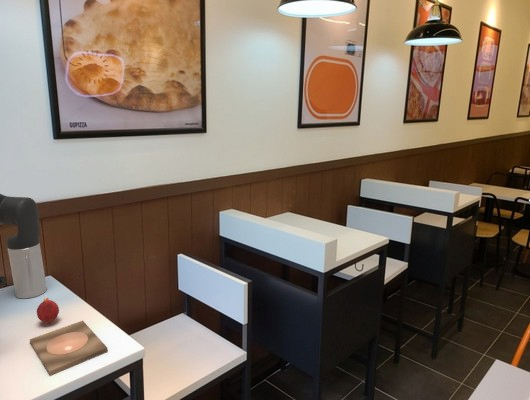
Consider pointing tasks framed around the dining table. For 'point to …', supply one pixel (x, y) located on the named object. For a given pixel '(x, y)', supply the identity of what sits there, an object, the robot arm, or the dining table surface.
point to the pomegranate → (47, 310)
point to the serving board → (67, 347)
